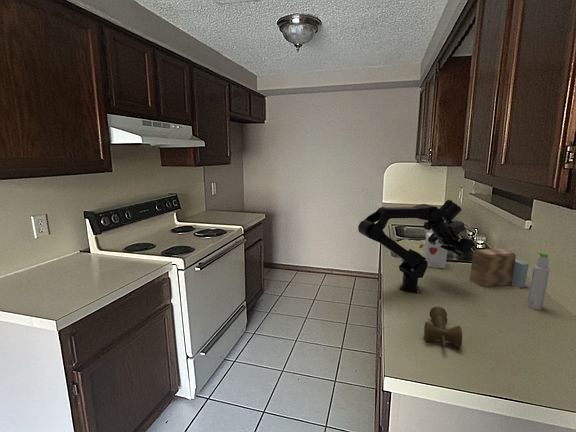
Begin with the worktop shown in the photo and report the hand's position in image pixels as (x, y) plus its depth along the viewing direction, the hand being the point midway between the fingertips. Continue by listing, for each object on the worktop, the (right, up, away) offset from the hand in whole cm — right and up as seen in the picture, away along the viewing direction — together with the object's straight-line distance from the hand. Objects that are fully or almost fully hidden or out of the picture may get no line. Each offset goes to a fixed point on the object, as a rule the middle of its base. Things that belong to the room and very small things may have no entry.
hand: (459, 255), depth 130 cm
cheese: (-5, -6, +35) cm, 36 cm away
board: (+24, -12, +7) cm, 27 cm away
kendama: (-25, -20, -35) cm, 47 cm away
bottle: (+18, -17, -16) cm, 29 cm away
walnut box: (+15, -12, +5) cm, 20 cm away
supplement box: (+1, -8, +25) cm, 26 cm away
